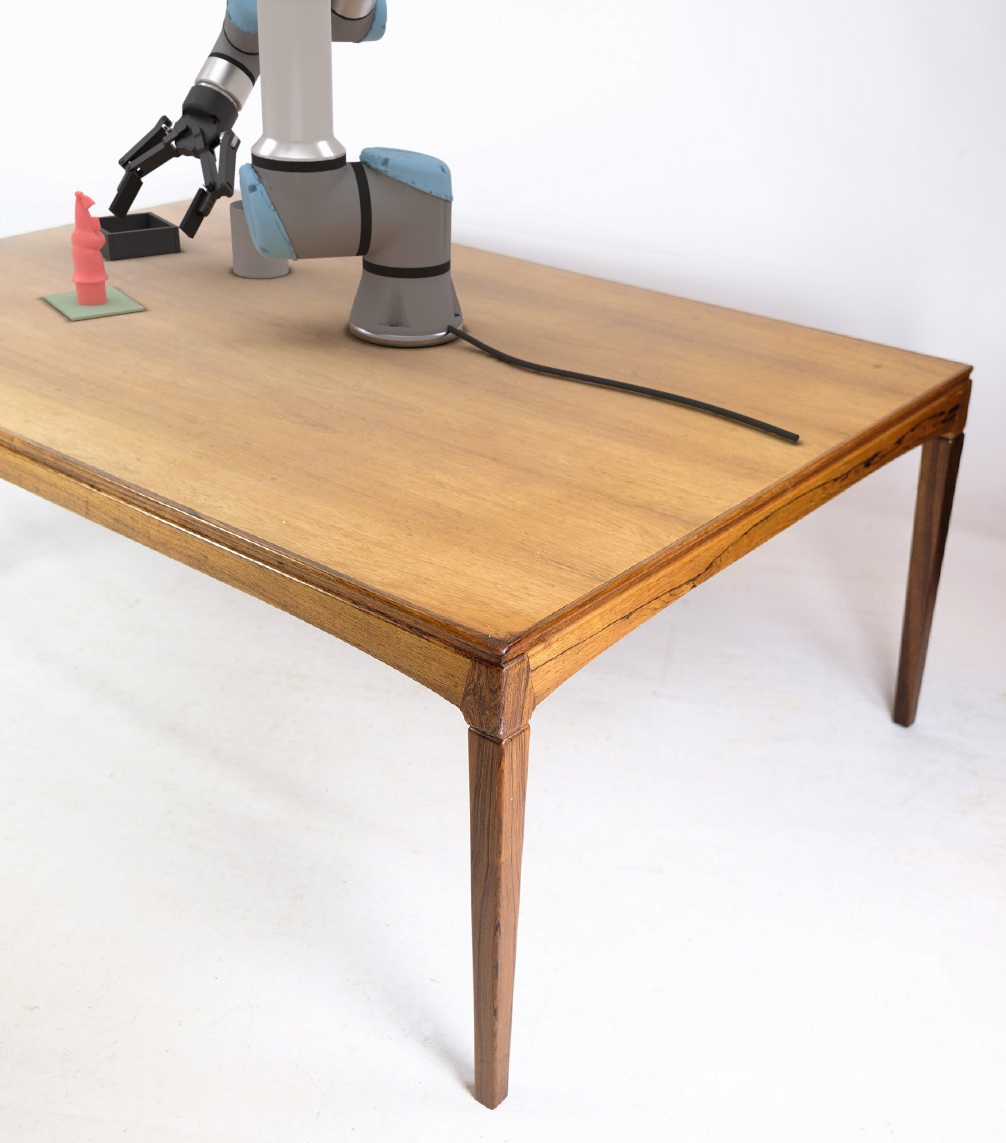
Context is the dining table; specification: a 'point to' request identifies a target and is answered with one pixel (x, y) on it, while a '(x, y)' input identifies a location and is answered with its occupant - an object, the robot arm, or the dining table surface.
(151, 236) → the box
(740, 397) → the dining table surface
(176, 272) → the dining table surface
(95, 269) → the figurine
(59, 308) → the mat
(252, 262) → the cup
